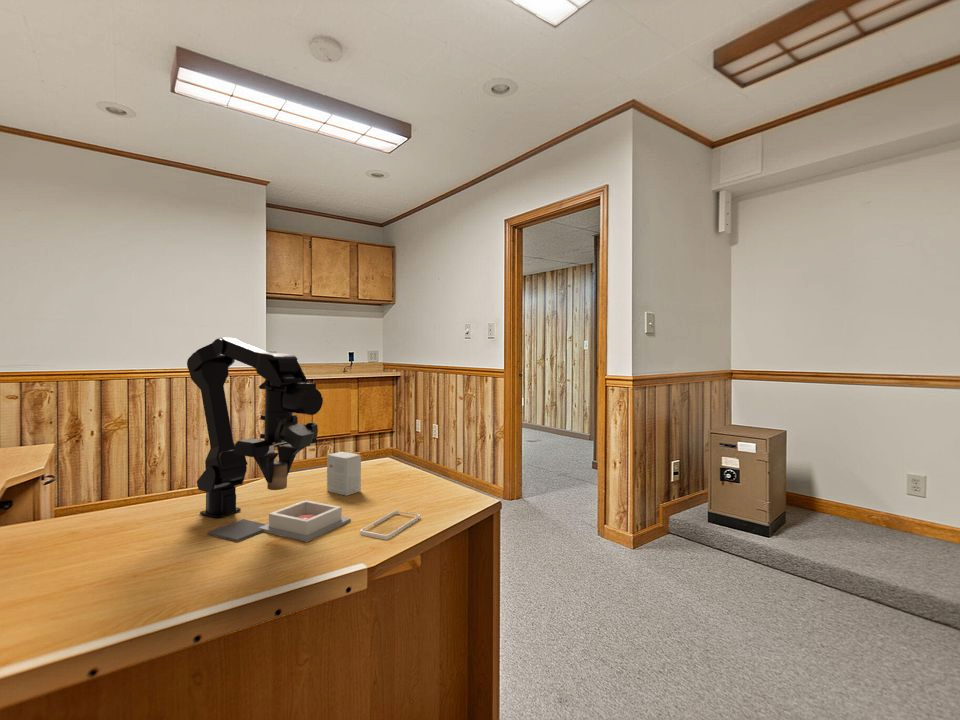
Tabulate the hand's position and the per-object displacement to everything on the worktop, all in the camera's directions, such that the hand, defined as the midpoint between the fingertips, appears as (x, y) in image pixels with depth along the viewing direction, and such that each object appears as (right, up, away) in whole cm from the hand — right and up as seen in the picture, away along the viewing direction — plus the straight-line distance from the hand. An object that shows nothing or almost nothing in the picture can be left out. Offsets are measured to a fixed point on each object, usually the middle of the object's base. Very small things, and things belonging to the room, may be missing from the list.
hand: (277, 480), depth 108 cm
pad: (-7, -11, -2) cm, 13 cm away
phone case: (+25, -12, +3) cm, 28 cm away
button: (+6, -10, +2) cm, 12 cm away
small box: (+7, -11, +29) cm, 31 cm away
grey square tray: (+6, -11, +2) cm, 12 cm away
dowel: (0, -2, 0) cm, 2 cm away
